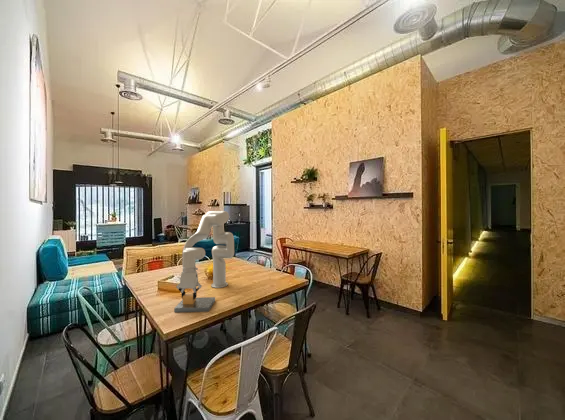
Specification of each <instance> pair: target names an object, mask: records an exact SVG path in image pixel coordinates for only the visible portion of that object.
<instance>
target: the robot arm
mask: <svg viewBox="0 0 565 420" xmlns="http://www.w3.org/2000/svg"><path fill="white" fill-rule="evenodd" d="M229 219H230V214H229V212H228V211H227V210H209V211H207V212H206V213H205V214H203V215H202V217H200V221H199V225H198V227H197V230H196V232H195V233H193V234H192V235H191V236H190V237H189V238H188V239H186V241H185V243H184V246H183V249H182V256H181V257H182V264H181V265H182V271H181V273H180V278H179V283H178V284H177V285H176V287H175V288H176V289H177V290H178V291H179V292H180V294H181V301H182V300H183V296H184V295H185V293H186V289H187V290H188V289H189V290H190V289H191V290H192V291H193V292H192V293H193V299H195V298H198V297H197V296H198V294H197V293H198V291H199V290H200V289H201V288H202V287H203V285H202V284H201V283H200V281H199V276H198V275H199V274H198V272H197V271H198V269H199V268H198V267H197V265H196V261H199V260H202V259H204V258H205V256H206V250H205V248H203V247H193V246H194V245H195V244H197V243H198V242H200V241H202V240H205V239H207V238H209V236H210V232H211V231H212V237H213V243H214V244H216V245H215V246H213V247H211V248H212V249H211V255H212V275H213V277H212V281H213V282H212V283H211V285H210V286H211V288H216V289H220V288H225V287H227V286H228V282H227V281H226V274H227V273H226V272H227V270H226V260H225V259H231V258H233V257H234V256H235V238H234V237H235V236H234V234H233V233H232V232H230V231H225V226H224V225H225V223H227V222H228V221H229Z"/></svg>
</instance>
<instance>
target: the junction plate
mask: <svg viewBox="0 0 565 420" xmlns="http://www.w3.org/2000/svg"><path fill="white" fill-rule="evenodd" d="M215 302H216V297H215V296H212V297H207V296H206V297H205V296H204V297H196V301H195V302H194V303H193V304H183V300H182V299H181V300H180V302H178V304H177V305H176V306H175V307H174V311H173V313H201V312H203V313H206V312H207V313H208V312H210V310H211V309H212V307H213V305H214V304H215Z"/></svg>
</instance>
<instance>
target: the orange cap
mask: <svg viewBox="0 0 565 420" xmlns="http://www.w3.org/2000/svg"><path fill="white" fill-rule="evenodd" d="M193 293H194V292H185V295H184V296H183V304H193V303H194V302H195V301H196V298H197V297H196V298H195V299H193Z"/></svg>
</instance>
